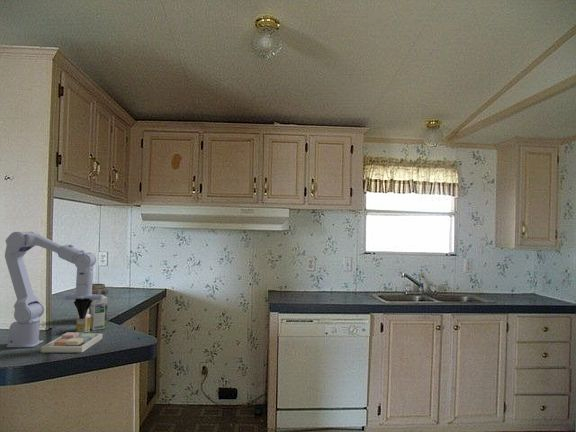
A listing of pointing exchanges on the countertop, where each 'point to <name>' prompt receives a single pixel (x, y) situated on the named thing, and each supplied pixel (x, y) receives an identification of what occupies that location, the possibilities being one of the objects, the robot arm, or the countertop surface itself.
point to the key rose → (70, 335)
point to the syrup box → (98, 314)
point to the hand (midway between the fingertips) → (82, 318)
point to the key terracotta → (60, 342)
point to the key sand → (74, 341)
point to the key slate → (85, 339)
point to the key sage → (88, 335)
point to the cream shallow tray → (71, 348)
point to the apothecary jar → (98, 291)
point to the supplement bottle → (83, 323)
